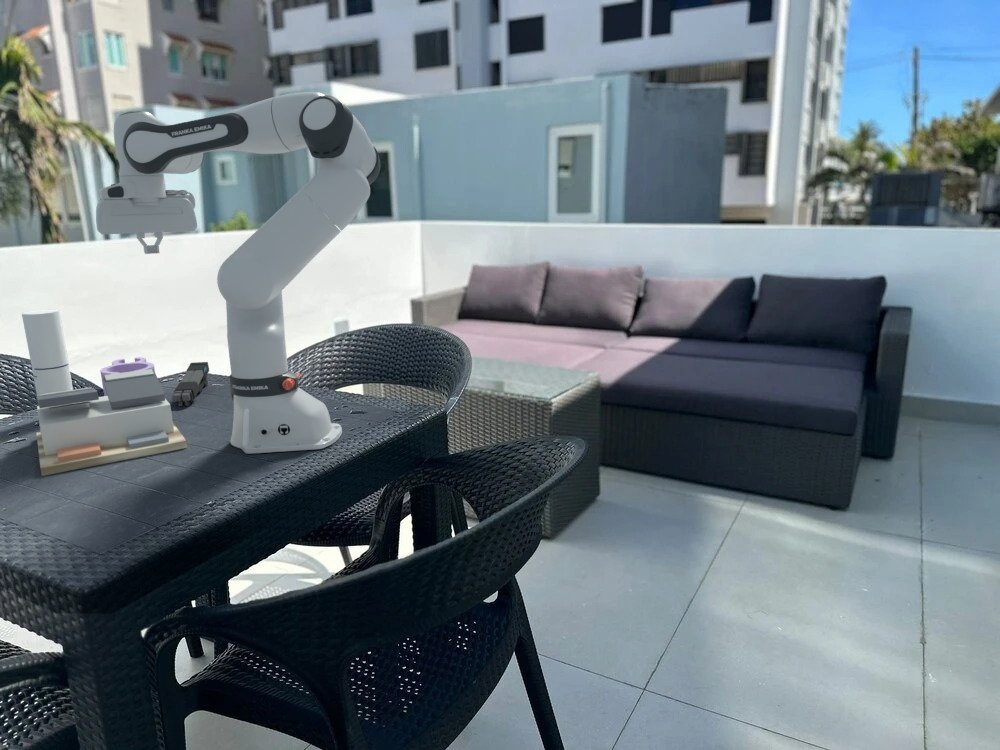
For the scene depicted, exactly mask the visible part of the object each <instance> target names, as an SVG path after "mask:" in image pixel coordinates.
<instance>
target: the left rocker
mask: <svg viewBox="0 0 1000 750" xmlns="http://www.w3.org/2000/svg"><path fill="white" fill-rule="evenodd" d="M99 397H100V396H99V393H98V391H97V390H96V389H95V388H92V387H84V388H83V387H82V388H76V389H73V390H69V391H62V392H55V393H47V394H40V396H38V398H37V403H38V402H39V404H38V406H39V407H40V408H46V407H52V406H59V405H66V404H73V403H79V402H86V401H93V400H99Z"/></svg>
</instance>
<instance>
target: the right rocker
mask: <svg viewBox="0 0 1000 750" xmlns="http://www.w3.org/2000/svg"><path fill="white" fill-rule="evenodd" d="M102 377H103V383H104V387H105V390H106V393H107V396H108V399H109V402H110V405H111V408H112V409H116V408H122V407H128V406H135V405H141V404H147V403H154V402H160V401H165V399H166V394H165V392H164V389H163V387H162V385H161V383H160V381H159V378H158V376H157V374H156V370H155V371H154V369H146V370H139V371H131V372H124V373H116V374H109V375H105V376H102Z"/></svg>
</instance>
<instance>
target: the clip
mask: <svg viewBox="0 0 1000 750" xmlns="http://www.w3.org/2000/svg"><path fill="white" fill-rule="evenodd" d="M146 369H154V371H155V372H156V370H155V364H154V363H153V362H149V361H148V362H147V358H146V357H143V356H141V357H140V356H138V357H137V356H136V357H134V361H133V362H126V360H125V358H120V359H116V360H113V361H112V362H111V365H109V366H108V365H107V366H106V367H103V368H101V369H100V371H99V372H100V377H101V383H102V384H101V385H102V391H103V395H104V396H107V393H106V390H105V387H104V383H103V377H102V376H105V375H109V374H116V373H124V372H131V371H139V370H146Z"/></svg>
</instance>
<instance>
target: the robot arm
mask: <svg viewBox="0 0 1000 750" xmlns="http://www.w3.org/2000/svg"><path fill="white" fill-rule="evenodd" d="M351 110H352V109H350V108H349V107H348V106H347V105H346V103H344V102H343V101H342V100H340V99H338V98H337V97H336V96H333V95H325V94H324V93H321V92H318V91H304V92H295V93H294V92H293V93H287V94H282V95H277V96H274V97H269V98H266V99H263V100H259V101H256V102H253V103H251V104H248V105H245V106H243V107H239V108H236V109H233V110H230V111H226V112H224V113H220V114H217V115H214V116H213V115H212V116H210V117H209V116H208V117H204V118H199V119H194V120H189V121H185V122H180V123H179V122H178V123H174V124H169V123H166V122H164V121H162V120H161V119H158V118H157V117H155V116H154V115H153V114H152V113H150V112H149V111H143V110H142V111H141V110H137V111H128V112H124V113H121V114H119V115H118V116H116V118H115V120H114V125H113V141H114V149H115V155H116V159H117V161H118V164H119V171H118V177H119V182H118V183H111V184H110V185H109V186H105V187H102V188H100V189H98V191H97V193H98V194H97V195H98V197H99V198H100V199H101V200H99V201H98V203H97V205H96V209H95V211H96V212H95V222H96V224H95V225H96V230H97V232H98V233H99V234H101V235H122V234H123V235H124V234H125V235H126V234H135V235H136V239H137V240H138V242H139V243H140V244H141V246H143V252H144V254H145V255H150V254H160V247H159V246H160V244H161V242H162V241H163V238H164V235H163V233H173V232H174V233H178V232H195V231H196V230H197V228H198V222H197V216H196V212H195V208H196V200H195V199H196V198H195V196H194V194H193V193H192V192H189V191H187V190H186V189H180V190H177V189H176V190H175V189H166V184H165V177H164V176H165V175H164V174H171V175H172V174H174V175H176V174H177V175H186V174H190V173H194V172H196V171H197V170H198V169H200V167H201V165H202V164H203V161H204V156H205V155H204V153H209V152H213V151H214V152H215V151H232V152H233V151H235V152H243V153H250V154H258V155H260V154H261V155H276V154H285V153H287V154H288V153H290V152H294V151H299V150H302V149H306V148H308V151H309V153H310V155H311V157H312V158H316V159H317V160H318V169H317V172H316V173H315V175H314V176H313V177H312V178H311V179H310V180H309V181H308V182H307V183H306V184H305V185H303V186H302V187H301V188H300V189H299V190H298V191H297V192H296V193H295V194H294V195H293V196H292V197H291V198H290V199H288V200H287V202H285V203H284V204H283V205H282V206H281V207H280V208H279V209H278V210H276V212H275V213H274V214H273V215H272V216H271V217H269V219H267V221H265V222H264V223H263V224H262V225H261V226H260V227H259V228H258V229H257V230H255V232H254V233H253V234H251V236H249V237H248V238H247V239H246V240H245V241H244V242H243V243H242V244H240V245H239V247H237V249H235V250H234V252H233V253H232V254H230V255H229V256H228V257H227V258H226V259H225V260H224V261H223V262H222V264H221V265H220V267H219V269H218V272H217V277H216V283H217V288H218V291H219V293H220V295H221V296H222V297H223V299H224V300H225V305H226V306H225V307H226V332H227V333H226V338H227V346H228V358H229V364H230V365H229V366H230V375H229V388H230V389H229V390H230V394H231V400H232V401H233V419H232V420H233V421H232V423H233V424H232V432H231V437H230V441H229V442H230V445H232V446H233V447H235V448H238V449H241V450H242V451H243V452H244V453H245V454H251V455H252V454H262V453H263V454H264V453H277V452H278V453H279V452H294V451H295V452H296V451H308V450H310V451H311V450H321V449H324V448H326V447H329V446H331V445H333V444H334V443H336V442H337V441H338V440H339V439H340V437H341V436H342V434H343V428H342V426H341V424H339V423H336V422H332V421H331V417H330V413H329V409H328V407H327V405H326V404H325V403H324V402H323V401H321V400H319V399H317V398H315V397H314V396H313V395H311V394H309V393H308V392H307V391H304V389H302V388H300V387H299V379H300V378H301V377H300V374H301V373H300V372H297V373H294V372H292V371H291V370H290V369H289V366H288V354H287V346H286V345H287V344H286V334H285V317H284V306H283V305H284V304H283V290H284V289H285V288H286V286H288V285H290V283H291V282H292V281H293V280H294V279H295V278H296V277H297V276H298V275H299V274H300V273H301V272H302V270H304V269H305V267H306V266H307V265H309V263H310V262H311V261H312V260H313V259H314V258H315V257H317V255H318V254H319V253H320V252H322V250H323V249H325V248H326V247H327V246H328V245H329V244H330V243H331V242H333V240H334V239H335V238H336V237H337V236H338V235H339V234H340V233H341V232H342V231H344V229H346V228H347V226H348V225H349V224H350V223H351V222H352V221H353V219H354V218H356V216H357V215H358V214H359V213H360V211H362V208H363V207H364V206H365V204H366V203H367V201H368V200H369V198H370V196H371V186H370V185H371V184H372V183H374V182H375V180H376V179H377V178H378V176H379V174H380V171H381V159H380V156H379V153H378V150H377V149H376V146H374V145H373V143H372V140H371V139H370V137H369V135H368V134H367V131H366V129H365V128H364V126H363V125H362V123H361V122H360V121H359V120H358V118H357V117H356V116H355V115H354V114H353V112H352V111H351ZM150 233H153V234H154V238H156V240H155V242H154V244H150V245H148V244H147V243H146V241H145V240H144V239H145V238H146V236H145V234H150Z"/></svg>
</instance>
